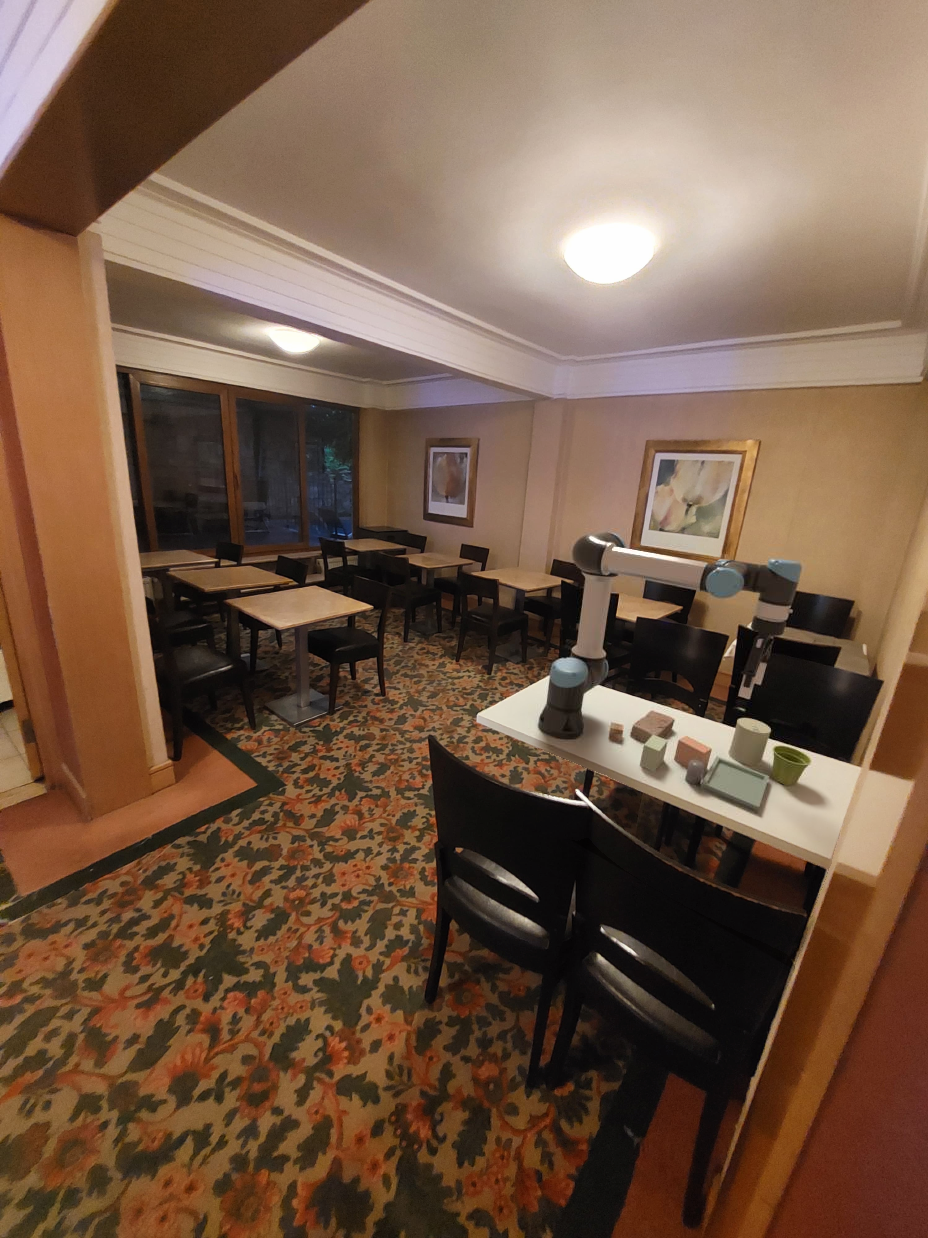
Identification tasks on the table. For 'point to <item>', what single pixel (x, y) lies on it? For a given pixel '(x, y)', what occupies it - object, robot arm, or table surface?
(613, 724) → the oak block
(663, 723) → the brick
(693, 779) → the grey canister
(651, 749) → the sage block
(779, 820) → the table surface
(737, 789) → the tray
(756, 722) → the can
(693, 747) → the terracotta block
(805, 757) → the plant pot
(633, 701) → the table surface
